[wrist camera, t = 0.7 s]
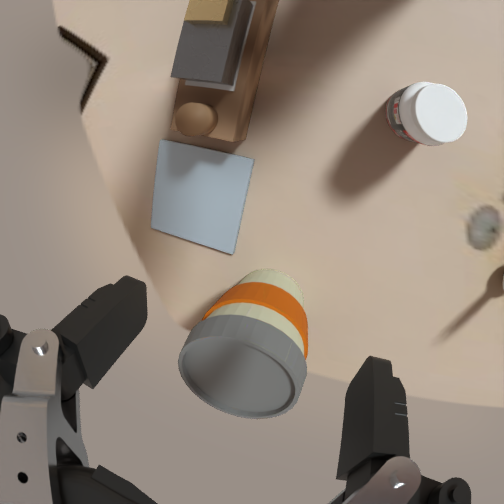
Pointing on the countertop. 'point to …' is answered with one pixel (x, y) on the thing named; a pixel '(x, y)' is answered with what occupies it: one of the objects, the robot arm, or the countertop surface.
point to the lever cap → (212, 41)
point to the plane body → (227, 87)
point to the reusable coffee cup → (250, 348)
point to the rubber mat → (200, 194)
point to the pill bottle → (427, 114)
